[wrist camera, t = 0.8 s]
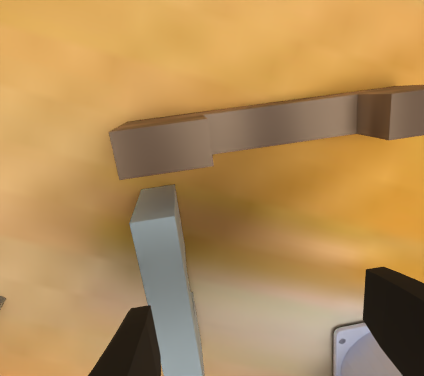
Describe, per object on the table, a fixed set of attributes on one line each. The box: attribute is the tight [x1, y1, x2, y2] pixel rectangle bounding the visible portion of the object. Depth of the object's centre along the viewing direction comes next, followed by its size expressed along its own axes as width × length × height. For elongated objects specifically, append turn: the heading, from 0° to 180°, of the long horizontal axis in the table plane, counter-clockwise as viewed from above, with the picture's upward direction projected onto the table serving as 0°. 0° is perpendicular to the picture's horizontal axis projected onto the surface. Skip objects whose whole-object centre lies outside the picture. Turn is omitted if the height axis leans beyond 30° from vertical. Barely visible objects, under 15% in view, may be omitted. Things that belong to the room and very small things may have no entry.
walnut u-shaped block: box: [109, 85, 424, 180], centre depth 15 cm, size 16×2×5 cm, turn 97°
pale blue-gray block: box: [129, 184, 205, 376], centre depth 17 cm, size 12×2×5 cm, turn 7°
